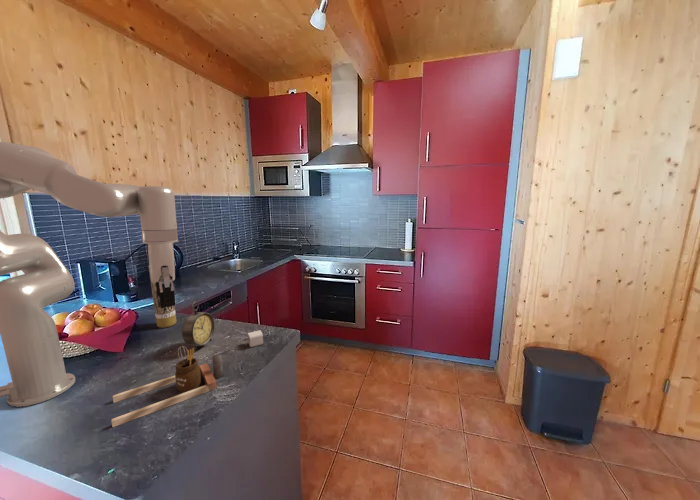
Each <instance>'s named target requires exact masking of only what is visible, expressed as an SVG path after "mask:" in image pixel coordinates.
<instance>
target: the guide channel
mask: <svg viewBox="0 0 700 500" xmlns="http://www.w3.org/2000/svg"><path fill="white" fill-rule="evenodd" d="M222 358H223V357H222V354H214V355H213V356H212V358H211V359H212V369H213V372H212V370H211V368H210V365H209V364H208V363H203V364H200V365H199V367H200V373H201V378H202V379H203V381H204V385H201V386H199V387H197V388H196V389H193V390H190V391H188V392H181V393H179V394H177V395H174V396H172V397H168V398H166V399H164V400H161V401H158V402H155V403H152V404H149V405H147V406H144V407H141V408H138V409H135V410H132V411H130V412H128V413H124V414H122V415H120V416H116V417H114V418H111V422H110V423H111V426H112V428H116V427H117V426H120V425H121V426H122V425H123V424H126V423H128V422H131V421H134V420H137V419H138V418H141V417H145V416H146V415H149V414H152V413H155V412H158V411H161V410H163V409H165V408H167V407H170V406H173V405H176V404H179V403H181V402H184V401H186V400H189V399H192V398H196V397H198V396H200V395H203V394H205V393H208V392H211V391H212V390H215V389H217V388H218V385H217V380H216V379H221V378H222V377H223V376H224V369H223V359H222ZM173 383H176V379H175V375H171V376H168V377H166V378H165V377H164V378H163V379H160V380H156V381H152V382H149V383H147V384H144V385H142V386H138V387H134V388H132V389H129V390H126V391H125V390H124V391H122V392H119V393H116V394H114V395H112V401H113V403H114V404H115V403H118V402H120V401H123V400H127V399H129V398H132V397H135V396H139V395H141V394H144V393H148V392H150V391H153V390H156V389H159V388H162V387H165V386H168V385H172V384H173Z"/></svg>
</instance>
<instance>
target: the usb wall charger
mask: <svg viewBox="0 0 700 500" xmlns="http://www.w3.org/2000/svg"><path fill="white" fill-rule="evenodd" d="M246 335H247V338H242V339H240V342H241V344H242V345H245V344H248V345H249V347H250V348H252V347H253V348H254V347H257V346H260V345H264V335H263V332H262V330H261V329H260V330H255V331H251V332H247V334H246Z"/></svg>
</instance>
